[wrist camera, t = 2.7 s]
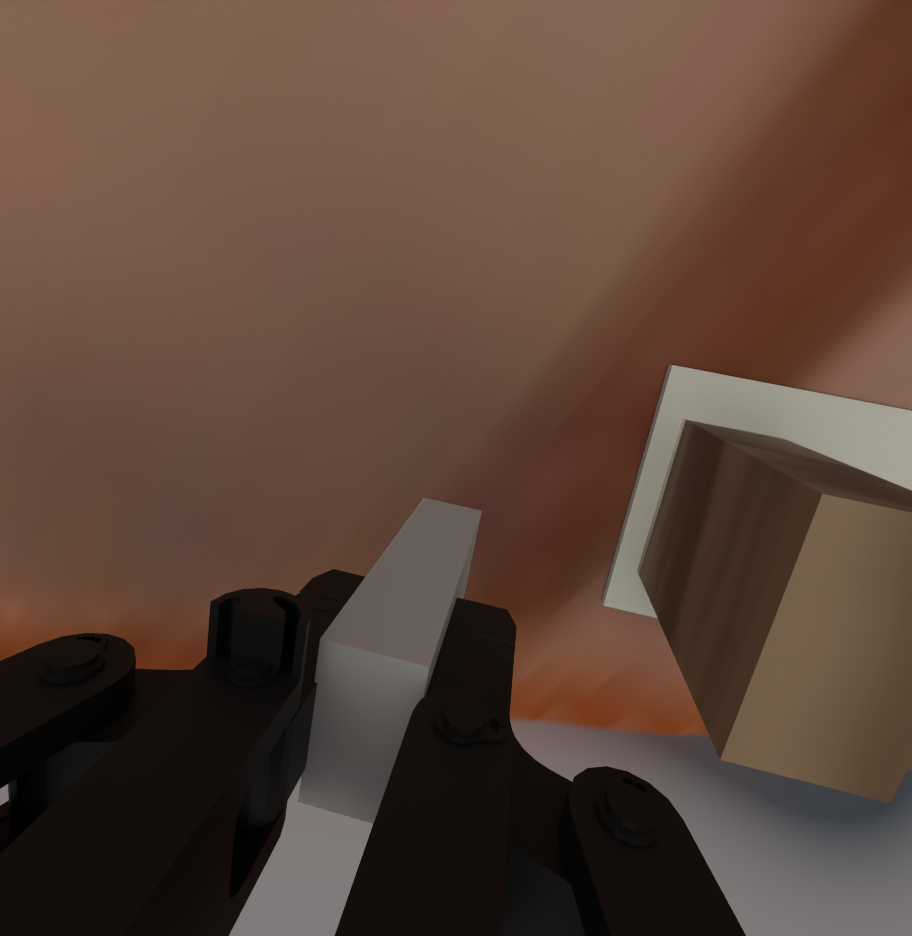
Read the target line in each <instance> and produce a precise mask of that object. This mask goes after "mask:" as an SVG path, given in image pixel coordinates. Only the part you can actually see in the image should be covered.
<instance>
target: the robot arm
mask: <svg viewBox="0 0 912 936" xmlns="http://www.w3.org/2000/svg"><path fill="white" fill-rule="evenodd" d="M481 513H482V511H480V510H476V509H472V508H467V507H463V506H458V505H454V504H450V503H445V502H441V501H436V500H432V499H428V498H423V499H422V501H421V502H420V503H419V505H418V506H417V507H416V509H415V510H414V512H413V513H412V514H411V516H410V517H409V518H408V520H407V521H406V522H405V524H404V525H403V527H402V528H401V529H400V531H399V532H398V533H397V535H396V536H395V537H394V539H393V540H392V541H391V543H390V544H389V546H388V547H387V548H386V550H385V551H384V552H383V554H382V555H381V556H380V558H379V559H378V561H377V562H376V563H375V565H374V566H373V567H372V569H371V570H370V571H369V573H368V574H367V576H366V577H363V576H359V575H355V574H351V573H347V572H343V571H339V570H335V569H332V570H330V571H328V572H325V573H323V574H321V575H318V576H316V577H314V578H312V579H311V580H310V581H309V582H308V583H307V584H306V586H305V587H304V588H303V589H302V590H301V591H300V594H297V595H296V596H294V595H292V594H289V593H287V592H284V591H281V590H273V589H266V588H255V589H242V590H238V591H234V592H230V593H226V594H224V595H222V596H220V597H218V598H217V599H215V600H213V601H211V604H210V618H209V631H208V645H207V657H205V658H204V659H203V660H202V661H201V662H200V663H199V664H198V665H197V666H196V667H195V668H194V669H193V670H153V669H135V664H136V658H135V651H134V647H132V646H131V645H130V644H129V643H128V642H127V641H126V640H125V639H122V638H119V637H115V636H112V635H109V634H94V633H83V634H77V635H70V636H63V637H60V638H56V639H53V640H50V641H47V642H44V643H41V644H38V645H36V646H34V647H32V648H29V649H27V650H25V651H22V652H20V653H18V654H16V655H13V656H11V657H9V658H6V659H4V660H2V661H0V788H2V787H3V786H5V785H7V784H8V792H9V801H7V802H6V803H4V804H2V805H1V806H0V936H229V934H230V932H231V930H232V928H233V926H234V924H235V922H236V921H237V919H238V917H239V915H240V913H241V911H242V909H243V907H244V905H245V903H246V901H247V899H248V897H249V896H250V893H251V892H252V890H253V888H254V886H255V884H256V882H257V880H258V878H259V876H260V874H261V872H262V870H263V868H264V866H265V865H266V863H267V861H268V859H269V857H270V855H271V853H272V851H273V849H274V847H275V845H276V843H277V841H278V840H279V838H280V835H281V832H282V828H283V825H284V821H285V816H286V808H287V801H288V799H289V797H290V795H291V793H292V791H293V789H294V788H295V786H296V784H297V782H298V780H299V779H300V777H301V775H302V777H301V785H300V792H299V800H298V802H302V803H305V804H309V805H312V806H316V807H319V808H322V809H326V810H329V811H333V812H336V813H339V814H343V815H346V816H350V817H353V818H357V819H360V820H363V821H367V822H370V823H373V827H372V830H371V833H370V835H369V839H368V841H367V844H366V847H365V850H364V853H363V856H362V859H361V862H360V864H359V867H358V870H357V873H356V876H355V879H354V882H353V884H352V887H351V890H350V893H349V896H348V899H347V902H346V905H345V908H344V911H343V913H342V916H341V919H340V922H339V925H338V928H337V931H336V934H335V936H746V935H745V933H744V931H743V929H742V928H741V926H740V924H739V922H738V920H737V918H736V916H735V915H734V913H733V911H732V909H731V907H730V905H729V904H728V902H727V900H726V898H725V896H724V894H723V893H722V891H721V889H720V887H719V885H718V883H717V882H716V880H715V878H714V876H713V874H712V872H711V870H710V868H709V867H708V865H707V863H706V861H705V859H704V857H703V856H702V854H701V852H700V850H699V848H698V846H697V844H696V843H695V841H694V839H693V837H692V835H691V833H690V832H689V830H688V828H687V826H686V824H685V822H684V820H683V819H682V817H681V816H680V815H679V813H678V812H677V811H676V809H675V808H674V806H673V805H672V804H671V803H670V801H669V800H668V799H667V798H666V797H665V796H664V795H663V794H662V793H660V792H659V791H658V790H657V789H656V788H654V787H653V786H652V785H651V784H650V783H648V782H646V781H644V780H643V779H641V778H639V777H637V776H635V775H633V774H631V773H629V772H627V771H623V770H619V769H615V768H611V767H607V766H606V767H595V768H587V769H586V770H584V771H583V772H581V773H580V774H578V775H577V776H575V777H574V779H573V782H571V781H569V780H568V779H566V778H564V777H562V776H560V775H559V774H557V773H555V772H553V771H551V770H549V769H548V768H546V767H545V766H544V765H542V764H540V763H539V762H538V761H536V760H535V759H534V758H533V757H531V756H530V755H529V754H528V753H527V752H526V751H525V750H524V749H523V748H522V747H521V745H520V744H519V742H518V741H517V739H516V738H515V736H514V733H513V731H512V728H511V723H510V716H509V714H510V701H511V689H512V676H513V663H514V660H513V659H514V651H515V638H516V625H515V623H514V621H513V619H512V618H511V616H510V614H509V612H508V611H507V610H506V609H502V608H498V607H494V606H490V605H486V604H482V603H478V602H473V601H469V600H465V599H464V594H465V590H466V585H467V580H468V575H469V571H470V566H471V561H472V556H473V551H474V547H475V542H476V537H477V532H478V528H479V523H480V518H481Z"/></svg>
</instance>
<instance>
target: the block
mask: <svg viewBox="0 0 912 936" xmlns="http://www.w3.org/2000/svg"><path fill="white" fill-rule="evenodd" d="M637 572H638V575H639V577H640V579H641V581H642V584H643V586H644V588H645V590H646V593H647V595H648V597H649V599H650V602H651V604H652V606H653V609H654V611H655V613H656V615H657V618H658V620H659V622H660V624H661V627H662V629H663V631H664V633H665V636H666V638H667V640H668V643H669V645H670V647H671V649H672V652H673V654H674V656H675V658H676V661H677V663H678V665H679V667H680V670H681V672H682V674H683V677H684V679H685V681H686V683H687V686H688V688H689V690H690V692H691V695H692V697H693V699H694V701H695V704H696V706H697V708H698V711H699V713H700V715H701V717H702V720H703V722H704V724H705V726H706V729H707V731H708V733H709V735H710V738H711V740H712V742H713V745H714V747H715V749H716V751H717V753H718V756H719V758H720V760H723V761H727V762H732V763H735V764H739V765H743V766H747V767H751V768H755V769H758V770H762V771H766V772H771V773H774V774H778V775H782V776H786V777H790V778H794V779H797V780H801V781H805V782H809V783H813V784H817V785H821V786H825V787H829V788H833V789H837V790H841V791H844V792H848V793H852V794H856V795H860V796H864V797H868V798H872V799H876V800H880V801H884V802H887V803H890V802H891V800H892V798H893V796H894V794H895V792H896V790H897V788H898V786H899V784H900V782H901V780H902V778H903V776H904V774H905V772H906V770H907V768H908V766H909V764H910V762H911V760H912V490H909V489H907V488H904V487H902V486H900V485H897V484H895V483H892V482H890V481H887V480H885V479H882V478H880V477H877V476H875V475H872V474H870V473H867V472H865V471H863V470H860V469H858V468H855V467H853V466H850V465H848V464H845V463H843V462H840V461H838V460H835V459H833V458H830V457H828V456H826V455H823V454H821V453H818V452H816V451H813V450H811V449H808V448H806V447H803V446H801V445H798V444H796V443H793V442H791V441H788V440H786V439H784V438H779V437H774V436H769V435H764V434H759V433H754V432H749V431H744V430H739V429H734V428H729V427H724V426H719V425H714V424H709V423H704V422H699V421H694V420H689V419H684V418H683V420H682V423H681V427H680V430H679V433H678V437H677V440H676V443H675V446H674V450H673V453H672V456H671V460H670V463H669V466H668V470H667V473H666V476H665V480H664V483H663V486H662V490H661V493H660V496H659V500H658V503H657V506H656V510H655V513H654V516H653V520H652V523H651V526H650V530H649V533H648V536H647V540H646V543H645V546H644V550H643V553H642V556H641V560H640V563H639V566H638V570H637Z"/></svg>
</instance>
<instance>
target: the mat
mask: <svg viewBox="0 0 912 936" xmlns="http://www.w3.org/2000/svg"><path fill="white" fill-rule="evenodd" d="M683 418H684V419H689V420H694V421H699V422H704V423H709V424H714V425H719V426H724V427H729V428H734V429H739V430H744V431H749V432H754V433H759V434H764V435H769V436H774V437H779V438H784V439H786V440H788V441H791V442H793V443H796V444H798V445H801V446H803V447H806V448H808V449H811V450H813V451H816V452H818V453H821V454H823V455H826V456H828V457H830V458H833V459H835V460H838V461H840V462H843V463H845V464H848V465H850V466H853V467H855V468H858V469H860V470H863V471H865V472H867V473H870V474H872V475H875V476H877V477H880V478H882V479H885V480H887V481H890V482H892V483H895V484H897V485H900V486H902V487H904V488H907V489H909V490H912V411H910V410H905V409H900V408H894V407H889V406H884V405H879V404H874V403H868V402H863V401H858V400H853V399H847V398H842V397H837V396H832V395H827V394H821V393H816V392H811V391H806V390H801V389H795V388H790V387H785V386H780V385H774V384H769V383H764V382H759V381H754V380H748V379H743V378H738V377H733V376H727V375H722V374H717V373H712V372H707V371H701V370H696V369H691V368H686V367H681V366H675V365H670V364H669V365H668V369H667V372H666V376H665V379H664V383H663V386H662V390H661V393H660V397H659V400H658V404H657V407H656V411H655V414H654V418H653V421H652V425H651V428H650V432H649V435H648V439H647V442H646V446H645V449H644V453H643V456H642V460H641V463H640V467H639V470H638V474H637V477H636V481H635V484H634V488H633V491H632V495H631V498H630V502H629V505H628V509H627V512H626V516H625V519H624V523H623V526H622V530H621V533H620V537H619V540H618V544H617V547H616V551H615V554H614V558H613V561H612V565H611V568H610V572H609V575H608V579H607V582H606V586H605V589H604V593H603V596H602V603H603V606H607V607H612V608H616V609H620V610H624V611H629V612H633V613H637V614H641V615H646V616H650V617H654V618H657V615H656V613H655V611H654V609H653V606H652V604H651V602H650V599H649V597H648V595H647V593H646V590H645V588H644V586H643V584H642V581H641V579H640V577H639V575H638V572H637V570H638V566H639V563H640V560H641V556H642V553H643V550H644V546H645V543H646V540H647V536H648V533H649V530H650V526H651V523H652V520H653V516H654V513H655V510H656V506H657V503H658V500H659V496H660V493H661V490H662V486H663V483H664V480H665V476H666V473H667V470H668V466H669V463H670V460H671V456H672V453H673V450H674V446H675V443H676V440H677V437H678V433H679V430H680V427H681V423H682V420H683Z"/></svg>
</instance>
